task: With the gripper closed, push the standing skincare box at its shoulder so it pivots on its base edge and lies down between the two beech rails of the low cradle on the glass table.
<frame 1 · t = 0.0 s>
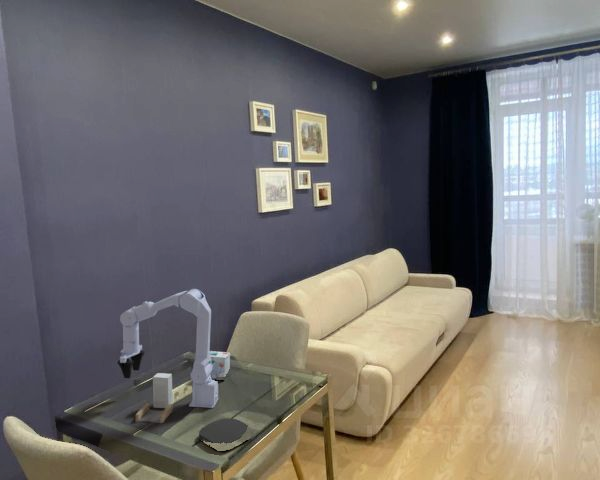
hand: (131, 373, 171), 10 cm above the table, fingers open, 7 cm apart
cradle: (154, 415, 159), on the table
media streaming box: (225, 438, 146), on the table
skincare box: (162, 406, 167), on the table
light bulb box: (216, 378, 194), on the table
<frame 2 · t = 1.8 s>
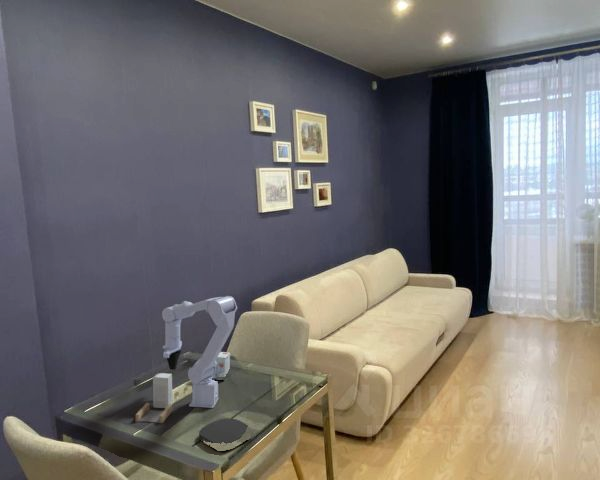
hand: (172, 368, 176), 10 cm above the table, fingers closed
nothing on the table moved.
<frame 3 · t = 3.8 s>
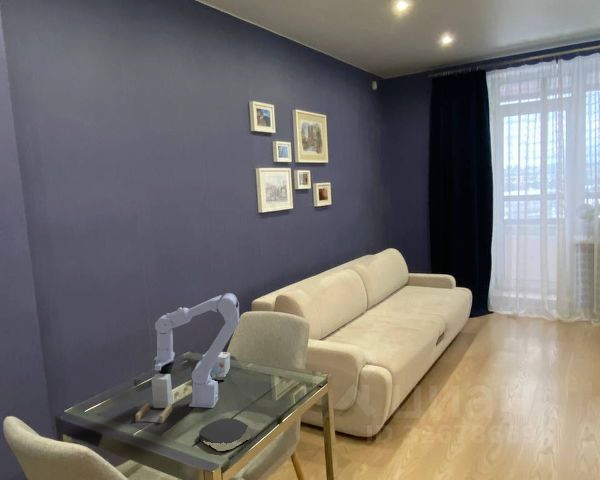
hand: (165, 381, 169), 8 cm above the table, fingers closed
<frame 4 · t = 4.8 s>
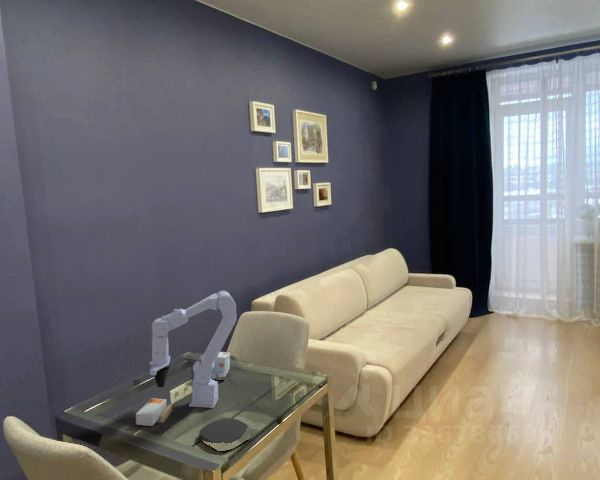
hand: (160, 386, 164), 8 cm above the table, fingers closed
skincare box: (159, 403, 163), point 2 cm above the table, touching cradle
everything else where it was.
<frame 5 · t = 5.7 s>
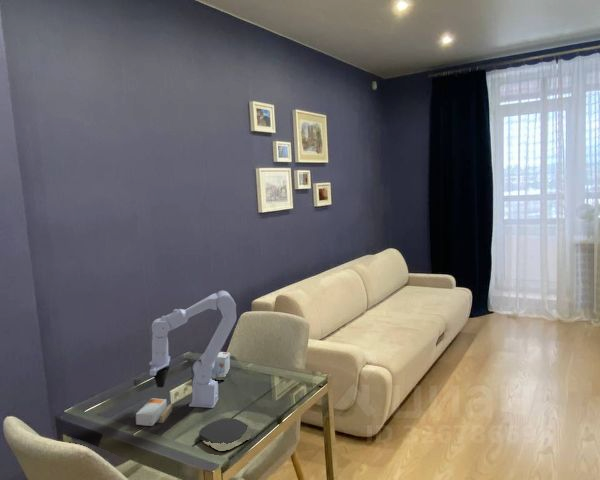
hand: (160, 386, 164), 8 cm above the table, fingers closed
nothing on the table moved.
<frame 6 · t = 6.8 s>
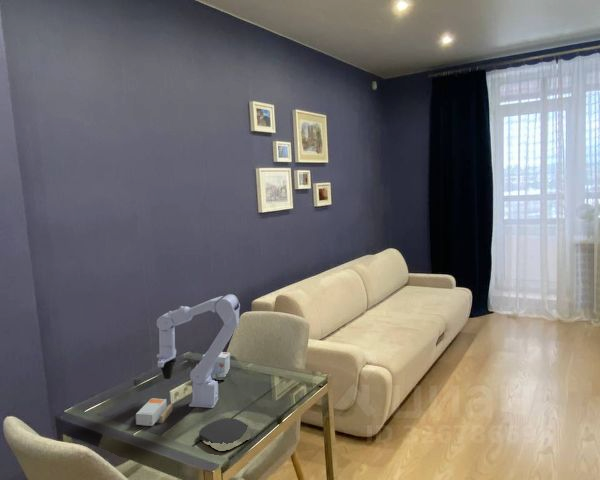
hand: (167, 378, 171), 9 cm above the table, fingers closed
nothing on the table moved.
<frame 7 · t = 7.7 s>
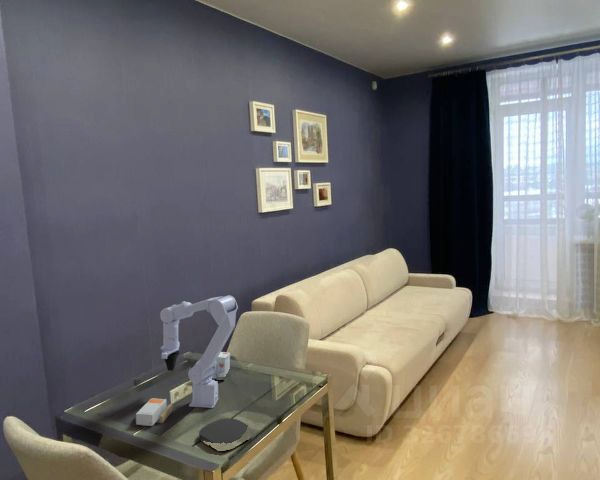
hand: (170, 369, 175), 10 cm above the table, fingers closed
nothing on the table moved.
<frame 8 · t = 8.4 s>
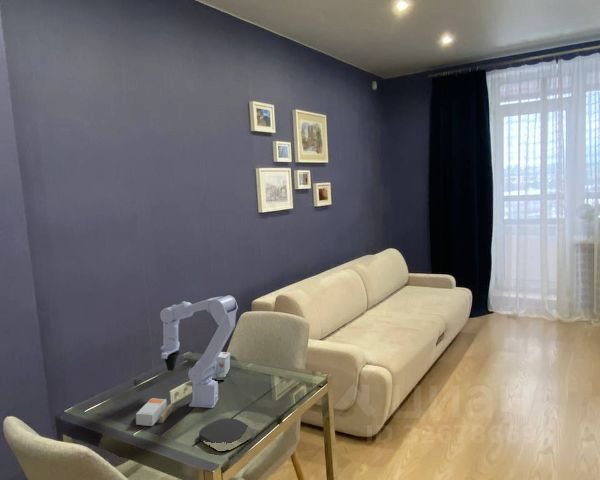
hand: (170, 369, 175), 10 cm above the table, fingers closed
nothing on the table moved.
at the end: skincare box tilted 91°; skincare box inside the target area (5.8 cm from its centre), point 2.5 cm above the table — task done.
